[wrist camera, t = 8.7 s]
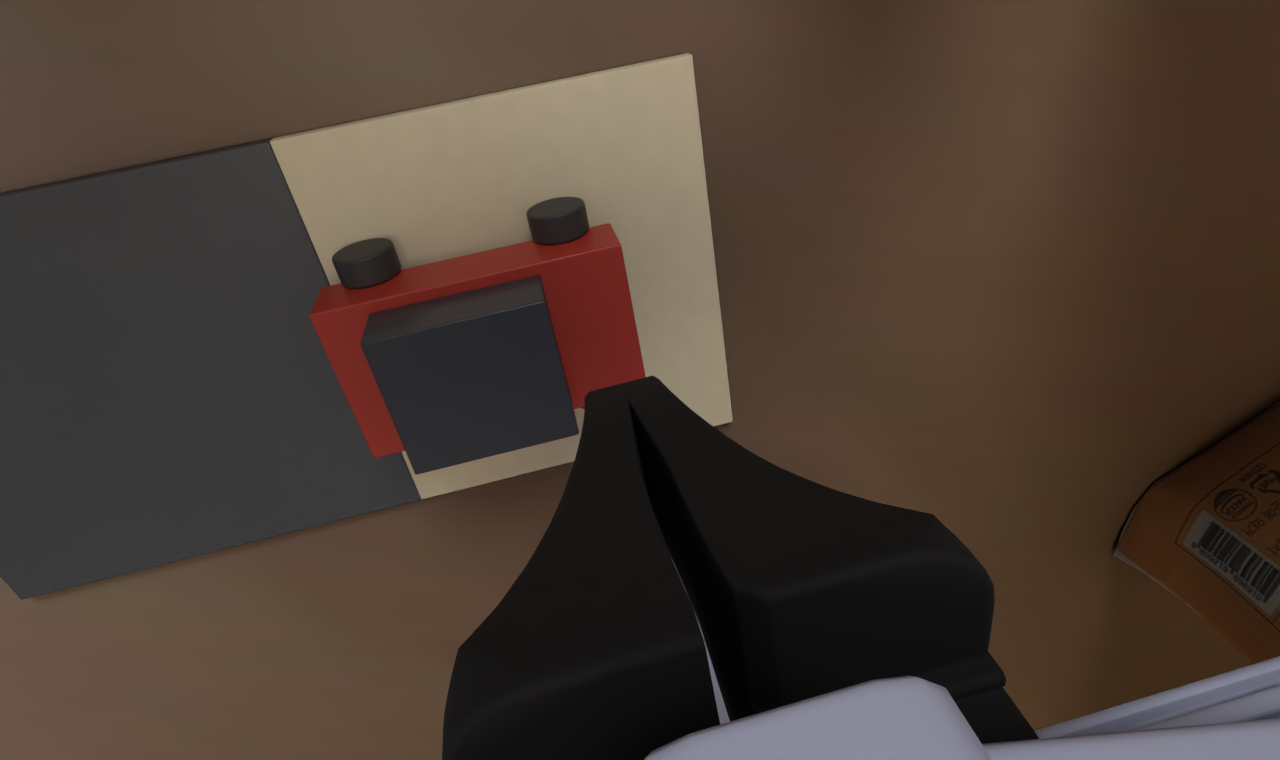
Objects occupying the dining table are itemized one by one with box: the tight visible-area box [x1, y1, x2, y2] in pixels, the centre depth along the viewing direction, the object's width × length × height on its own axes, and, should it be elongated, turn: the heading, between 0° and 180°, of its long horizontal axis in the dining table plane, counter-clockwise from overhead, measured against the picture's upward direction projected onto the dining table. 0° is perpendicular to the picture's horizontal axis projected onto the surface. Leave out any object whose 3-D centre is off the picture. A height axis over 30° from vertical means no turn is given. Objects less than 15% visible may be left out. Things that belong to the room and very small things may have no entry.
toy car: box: [309, 197, 646, 475], centre depth 20 cm, size 6×8×4 cm
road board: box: [0, 53, 733, 599], centre depth 21 cm, size 12×24×1 cm, turn 99°
